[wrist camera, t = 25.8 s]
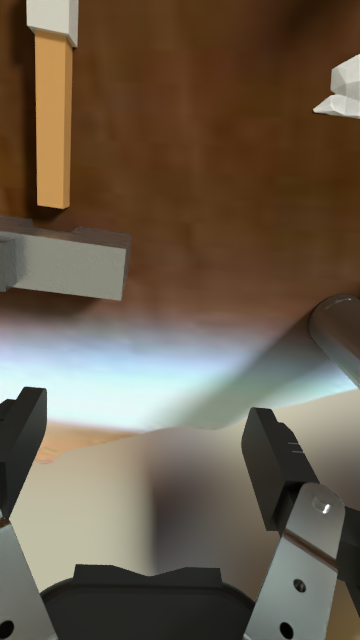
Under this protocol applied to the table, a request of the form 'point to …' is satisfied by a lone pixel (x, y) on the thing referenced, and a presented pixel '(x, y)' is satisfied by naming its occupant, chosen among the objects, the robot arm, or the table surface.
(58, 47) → the wooden handle
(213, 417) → the table surface
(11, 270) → the block
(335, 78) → the cloth
